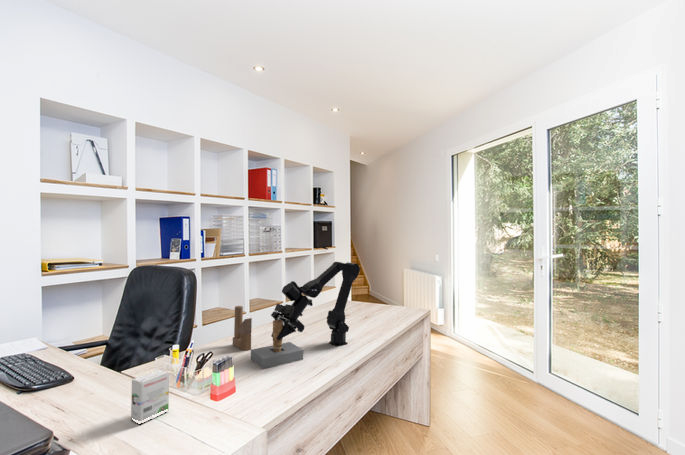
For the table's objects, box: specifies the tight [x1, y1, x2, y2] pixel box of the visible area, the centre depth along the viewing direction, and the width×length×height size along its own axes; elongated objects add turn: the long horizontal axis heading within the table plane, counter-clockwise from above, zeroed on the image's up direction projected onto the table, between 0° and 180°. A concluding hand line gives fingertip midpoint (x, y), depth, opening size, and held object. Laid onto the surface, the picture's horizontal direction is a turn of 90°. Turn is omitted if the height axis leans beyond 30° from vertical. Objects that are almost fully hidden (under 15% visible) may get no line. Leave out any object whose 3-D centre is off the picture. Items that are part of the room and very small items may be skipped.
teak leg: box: [272, 319, 284, 353], centre depth 144 cm, size 4×4×14 cm
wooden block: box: [232, 305, 253, 352], centre depth 157 cm, size 4×11×18 cm, turn 45°
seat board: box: [250, 341, 304, 370], centre depth 144 cm, size 18×12×4 cm, turn 126°
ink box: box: [130, 369, 170, 421], centre depth 99 cm, size 8×5×12 cm, turn 150°
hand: (274, 338), depth 143 cm, fingers closed on teak leg, 4 cm apart
